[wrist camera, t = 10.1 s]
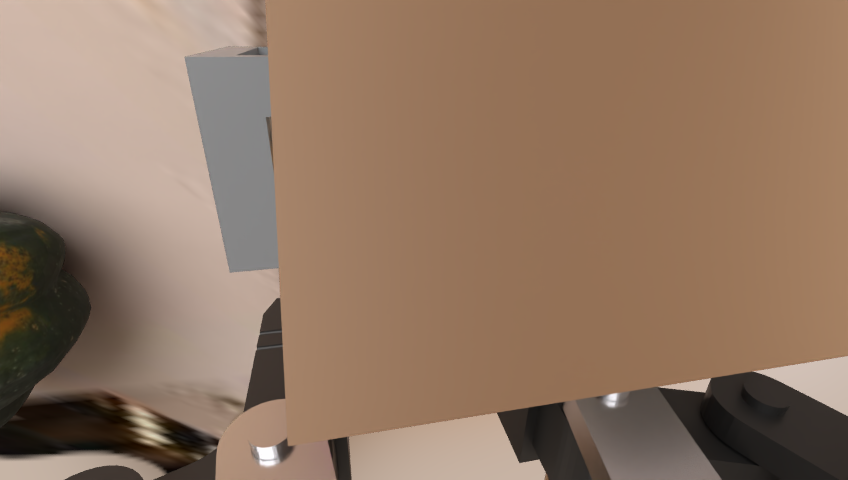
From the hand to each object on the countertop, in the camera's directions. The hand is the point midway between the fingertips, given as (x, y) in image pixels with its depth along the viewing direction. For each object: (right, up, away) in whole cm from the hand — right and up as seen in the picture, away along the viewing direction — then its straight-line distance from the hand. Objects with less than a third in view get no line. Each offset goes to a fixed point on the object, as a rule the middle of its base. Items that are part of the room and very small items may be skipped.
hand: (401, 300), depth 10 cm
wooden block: (-1, -1, +6) cm, 6 cm away
